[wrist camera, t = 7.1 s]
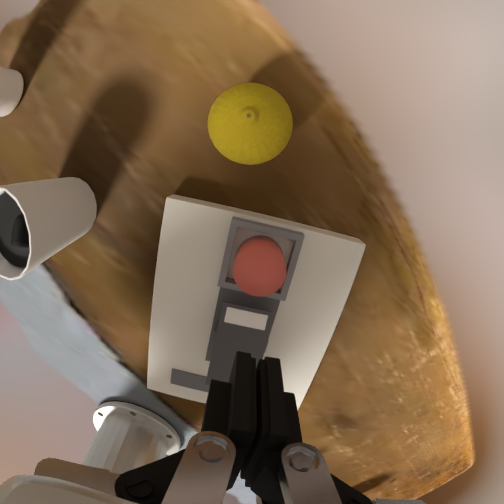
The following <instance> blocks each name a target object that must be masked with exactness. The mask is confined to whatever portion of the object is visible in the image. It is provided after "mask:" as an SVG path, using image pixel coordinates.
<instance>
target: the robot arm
mask: <svg viewBox="0 0 504 504" xmlns="http://www.w3.org/2000/svg"><path fill="white" fill-rule="evenodd" d="M93 422H94V425H95V427H96V429H97V431H98V432H97V434H96V436H95V438H94V440H93V442H92V444H91V447H90V448H89V450H88V453H87V454H86V456H85V459H84V461H83V463H82V465H81V464H76V463H71V462H68V461H64V460H60V459H56V458H47V459H43V460H41V461H40V462H39V463H38V464H37V466H36V468H35V472H34V475H17V476H13V477H11V478H9V479H7V480H6V481H5V482H3V483H2V484H1V485H0V504H222V503H223V500H224V496H225V493H226V491H227V490H229V489H230V488H232V487H233V485H234V483H235V480H236V478H237V476H238V474H239V472H240V470H241V473H240V477H241V479H245V487H251V490H252V491H253V492H254V493H255V494H256V502H257V504H426V503H424V502H422V501H420V500H400V499H379V498H375V499H374V500H370V499H369V498H368V497H366V496H365V495H363V494H362V493H360V492H358V491H357V490H355V489H354V488H352V487H350V486H349V485H347V484H346V483H344V482H343V481H341V480H340V479H338V478H337V477H335V476H334V475H332V474H331V473H330V472H329V469H328V467H327V464H326V462H325V459H324V457H323V455H322V454H321V452H320V451H319V450H318V449H317V448H315V447H314V446H312V445H310V444H306V443H303V442H302V436H301V430H300V423H299V417H298V411H297V405H296V399H295V395H294V393H290V392H284V386H283V378H282V370H281V362H280V359H279V358H274V357H268V356H265V358H264V359H259V361H258V364H257V367H256V358H253V357H251V353H246V352H241V351H237V352H236V355H235V359H234V363H233V367H232V370H231V374H230V378H229V382H223V381H218V380H214V379H211V382H210V387H209V392H208V396H207V401H206V406H205V412H204V417H203V423H202V428H201V432H199V433H197V434H195V435H194V436H192V438H191V439H190V440H189V442H188V445H187V447H186V449H183V450H181V451H179V450H180V445H181V441H180V437H179V436H178V434H177V432H176V431H175V430H174V428H173V427H172V426H171V425H170V424H169V423H167V422H166V421H165V420H164V419H162V418H161V417H160V416H158V415H156V414H154V413H153V412H151V411H149V410H147V409H144V408H142V407H139V406H137V405H134V404H130V403H125V402H118V401H113V402H106V403H103V404H101V405H99V406H98V408H97V409H96V411H95V413H94V415H93Z"/></svg>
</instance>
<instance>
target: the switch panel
mask: <svg viewBox="0 0 504 504" xmlns="http://www.w3.org/2000/svg"><path fill="white" fill-rule="evenodd" d="M258 235H262V236H267V237H270V238H272V239H273V240H275V241H276V242H277V243H278V244H279V246H280V247H281V249H282V252H283V256H284V261H285V265H286V278H285V281H284V283H283V285H282V286H281V287H280V288H279V289H278V290H277V291H276V292H274V293H272V294H270V295H267V296H252V295H249V294H247V293H245V292H244V291H242V290H241V289H240V288H239V287H238V285H237V284H236V282H235V279H234V275H233V268H234V263H235V259H236V254H237V251H238V248H239V246H240V245H241V244H242V243H243V242H244V241H245V240H246V239H248V238H250V237H252V236H258ZM365 247H366V245H365V244H364V243H363V242H362V241H361V240H360V239H359V238H355V237H351V236H348V235H344V234H340V233H336V232H333V231H329V230H325V229H321V228H317V227H313V226H309V225H305V224H301V223H297V222H293V221H289V220H285V219H281V218H277V217H273V216H269V215H265V214H260V213H256V212H252V211H248V210H243V209H239V208H235V207H230V206H226V205H221V204H217V203H212V202H208V201H203V200H199V199H194V198H189V197H184V196H180V195H175V194H173V195H171V196H168V197H166V202H165V208H164V214H163V221H162V227H161V234H160V241H159V248H158V255H157V263H156V272H155V280H154V290H153V300H152V311H151V323H150V336H149V352H148V374H147V388H148V389H151V390H154V391H158V392H162V393H165V394H169V395H173V396H176V397H180V398H184V399H188V400H192V401H197V402H201V403H205V404H206V401H207V396H208V392H209V387H210V385H206V384H205V383H206V378H207V373H208V369H209V364H210V359H211V355H212V350H213V345H214V341H215V336H216V332H217V327H218V322H219V318H220V313H221V309H222V304H223V301H227V302H231V303H236V304H240V305H245V306H249V307H254V308H259V309H263V310H268V311H273V312H274V314H273V319H272V323H271V327H270V331H269V335H268V339H267V344H266V348H265V352H264V356H263V359H264V358H265V356H268V357H274V358H279V359H280V362H281V370H282V378H283V386H284V392H290V393H294V395H295V399H296V405H297V410H298V408H299V407H300V405H301V403H302V401H303V398H304V396H305V394H306V392H307V390H308V388H309V386H310V384H311V382H312V380H313V378H314V376H315V373H316V371H317V369H318V367H319V365H320V362H321V360H322V358H323V356H324V353H325V351H326V349H327V347H328V344H329V342H330V340H331V337H332V335H333V332H334V330H335V328H336V325H337V323H338V320H339V318H340V315H341V313H342V310H343V308H344V305H345V303H346V300H347V297H348V295H349V292H350V289H351V287H352V284H353V281H354V279H355V276H356V273H357V270H358V267H359V264H360V262H361V259H362V256H363V253H364V250H365Z"/></svg>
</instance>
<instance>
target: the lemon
mask: <svg viewBox="0 0 504 504" xmlns="http://www.w3.org/2000/svg"><path fill="white" fill-rule="evenodd" d="M292 129H293V120H292V114H291V111H290V108H289V106H288V104H287V103H286V101H285V100H284V98H283V97H282V96H281V95H280V94H279V93H278V92H277V91H275V90H274V89H272V88H270V87H268V86H266V85H262V84H258V83H242V84H238V85H234V86H232V87H230V88H228V89H227V90H225V91H224V92H223V93H222V94H220V95H219V96H218V97H217V99H216V100H215V102H214V103H213V105H212V106H211V109H210V112H209V115H208V131H209V136H210V138H211V140H212V142H213V144H214V146H215V147H216V148H217V150H218V151H219V152H220V153H221V154H222V155H224V156H225V157H227V158H228V159H229V160H232V161H235V162H237V163H240V164H248V165H253V164H261V163H264V162H266V161H269V160H271V159H273V158H274V157H276V156H277V155H278V154H280V153H281V151H282V150H283V149H284V148H285V147H286V145H287V143H288V141H289V139H290V137H291V133H292Z"/></svg>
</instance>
